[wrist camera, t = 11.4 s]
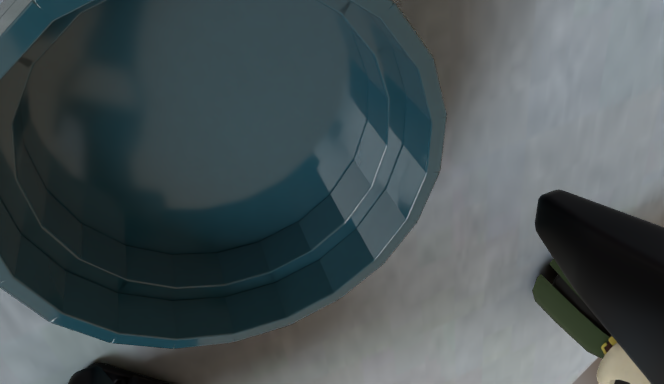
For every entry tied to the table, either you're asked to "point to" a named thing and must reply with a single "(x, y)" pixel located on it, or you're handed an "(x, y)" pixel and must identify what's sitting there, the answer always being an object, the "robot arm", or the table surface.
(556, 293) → the character mug
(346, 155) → the bowl
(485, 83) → the table surface
